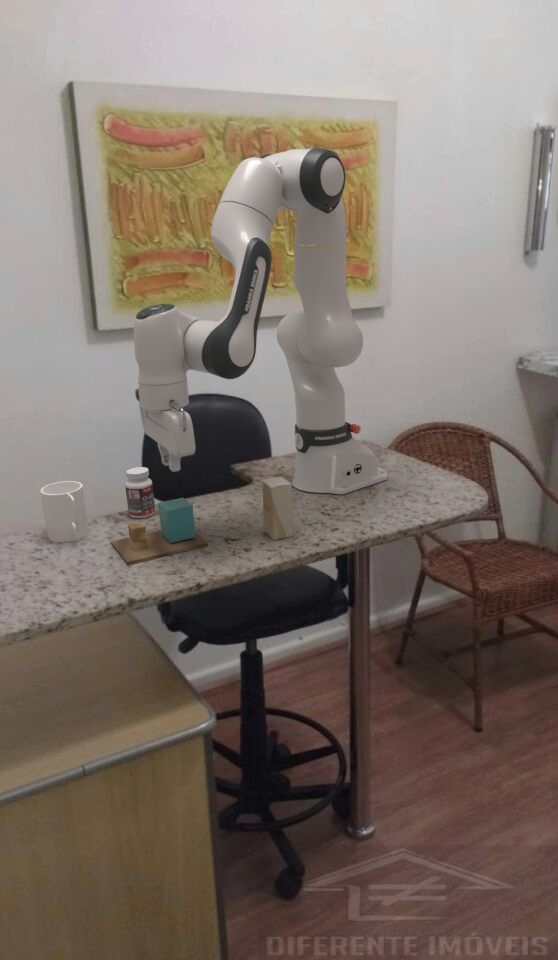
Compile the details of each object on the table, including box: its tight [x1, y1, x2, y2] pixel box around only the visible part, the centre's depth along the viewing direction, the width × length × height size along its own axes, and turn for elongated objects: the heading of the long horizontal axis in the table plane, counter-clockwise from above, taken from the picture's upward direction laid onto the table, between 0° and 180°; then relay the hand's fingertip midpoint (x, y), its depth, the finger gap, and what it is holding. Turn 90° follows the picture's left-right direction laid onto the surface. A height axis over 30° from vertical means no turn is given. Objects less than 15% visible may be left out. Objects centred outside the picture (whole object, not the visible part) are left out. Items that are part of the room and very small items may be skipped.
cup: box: [40, 480, 90, 543], centre depth 150 cm, size 8×12×10 cm
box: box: [261, 476, 294, 541], centre depth 145 cm, size 5×4×11 cm
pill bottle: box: [124, 466, 156, 519], centre depth 160 cm, size 6×6×10 cm
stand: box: [111, 521, 209, 566], centre depth 144 cm, size 16×11×7 cm
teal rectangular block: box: [157, 497, 196, 543], centre depth 145 cm, size 5×5×7 cm
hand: (171, 467), depth 142 cm, fingers open, 3 cm apart
